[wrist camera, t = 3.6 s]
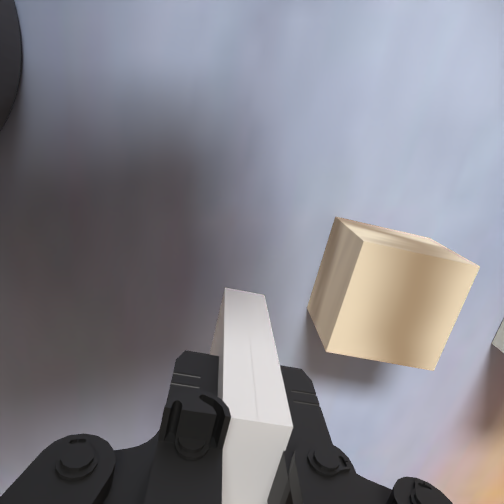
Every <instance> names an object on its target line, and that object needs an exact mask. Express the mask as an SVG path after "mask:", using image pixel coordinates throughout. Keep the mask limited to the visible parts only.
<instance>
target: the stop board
mask: <svg viewBox="0 0 504 504" xmlns="http://www.w3.org/2000/svg"><path fill="white" fill-rule="evenodd" d="M492 344H493V345H494V346H496V347H497V348H498V349H499V350H500V351H502V352H503V353H504V319H503V321H502V324H501V326H500V328H499V330H498V332H497V334H496V336H495V338H494V340H493V342H492Z"/></svg>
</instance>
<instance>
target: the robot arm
mask: <svg viewBox="0 0 504 504" xmlns="http://www.w3.org/2000/svg"><path fill="white" fill-rule="evenodd" d="M20 68H21V40H20V30H19V23H18V17H17V12H16V8H15V4H14V0H0V130H1V129H2V127H3V125H4V123H5V122H6V120H7V118H8V116H9V113H10V111H11V109H12V106H13V103H14V100H15V96H16V92H17V88H18V83H19V77H20ZM0 504H453V503H452V502H451V501H450V500H449V499H448V498H447V497H446V496H445V495H444V494H443V493H442V492H441V491H440V490H438V489H437V488H435V487H434V486H432V485H431V484H429V483H428V482H425V481H423V480H420V479H418V478H413V477H403V478H401V479H398V480H397V482H396V483H395V485H394V487H393V489H392V490H391V489H389V488H387V487H384V486H382V485H379V484H377V483H375V482H372V481H370V480H367V479H365V478H364V477H362V476H360V475H358V474H356V472H355V469H354V467H353V465H352V463H351V461H350V460H349V458H348V457H347V456H346V455H345V454H344V453H343V452H342V451H341V450H340V449H339V448H337V447H336V446H334V445H333V444H332V441H331V438H330V435H329V432H328V429H327V426H326V423H325V420H324V417H323V414H322V411H321V407H319V401H318V398H317V396H316V392H315V389H314V386H313V383H312V381H311V379H310V378H309V377H308V376H307V375H306V374H305V372H304V371H303V370H302V369H298V368H293V367H287V366H281V365H280V364H279V359H278V355H277V350H276V345H275V341H274V336H273V332H272V327H271V322H270V318H269V313H268V308H267V304H266V299H265V295H262V294H256V293H251V292H246V291H241V290H236V289H231V288H226V287H225V289H224V294H223V298H222V302H221V306H220V311H219V315H218V319H217V324H216V328H215V332H214V337H213V341H212V345H211V349H210V355H209V354H203V353H197V352H191V351H185V352H183V353H182V354H181V355H180V356H179V357H178V358H177V359H176V362H175V367H174V371H173V376H172V380H171V385H170V389H169V394H168V398H167V403H166V405H165V407H164V412H163V417H162V422H161V427H160V430H159V431H158V432H157V434H156V435H155V436H154V437H153V438H152V439H150V440H149V441H148V442H146V443H144V444H142V445H139V446H137V447H132V448H128V449H122V450H113V448H112V447H111V446H110V444H109V443H108V442H107V441H105V440H104V439H102V438H100V437H98V436H95V435H89V434H77V435H69V436H67V437H64V438H62V439H59V440H57V441H55V442H53V443H52V444H51V445H50V446H48V447H47V448H46V449H44V450H43V451H42V452H41V453H40V454H39V456H38V457H37V458H36V459H35V460H34V461H33V462H32V463H31V464H30V465H29V466H28V468H27V469H26V470H25V471H24V472H23V473H22V474H21V475H20V476H19V477H18V478H17V479H16V481H15V482H14V483H13V484H12V485H11V486H10V487H9V488H8V489H7V490H6V491H5V492H4V494H3V495H2V496H1V497H0Z"/></svg>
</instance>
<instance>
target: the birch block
mask: <svg viewBox="0 0 504 504" xmlns="http://www.w3.org/2000/svg"><path fill="white" fill-rule="evenodd" d="M479 268H480V266H478V265H476V264H475V263H473V262H471V261H469V260H467V259H466V258H464V257H462V256H460V255H459V254H457V253H455V252H453V251H452V250H450V249H448V248H446V247H445V246H443V245H441V244H439V243H438V242H436V241H434V240H432V239H430V238H428V237H423V236H419V235H414V234H410V233H405V232H401V231H397V230H392V229H388V228H383V227H379V226H375V225H370V224H366V223H361V222H357V221H353V220H348V219H344V218H339V217H335V220H334V223H333V226H332V229H331V232H330V236H329V239H328V242H327V245H326V248H325V252H324V255H323V258H322V261H321V264H320V268H319V271H318V274H317V277H316V281H315V284H314V287H313V290H312V293H311V297H310V300H309V303H308V306H307V309H308V311H309V314H310V316H311V318H312V321H313V323H314V325H315V328H316V330H317V332H318V334H319V337H320V339H321V341H322V344H323V346H324V348H325V351H326V352H330V353H336V354H341V355H347V356H353V357H358V358H364V359H370V360H375V361H381V362H387V363H392V364H398V365H403V366H409V367H415V368H420V369H426V370H432V371H434V369H435V367H436V364H437V362H438V360H439V358H440V355H441V353H442V351H443V349H444V346H445V344H446V342H447V340H448V337H449V335H450V333H451V331H452V329H453V326H454V324H455V322H456V320H457V317H458V315H459V313H460V311H461V308H462V306H463V304H464V302H465V299H466V297H467V295H468V293H469V290H470V288H471V286H472V284H473V282H474V279H475V277H476V275H477V273H478V270H479Z"/></svg>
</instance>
